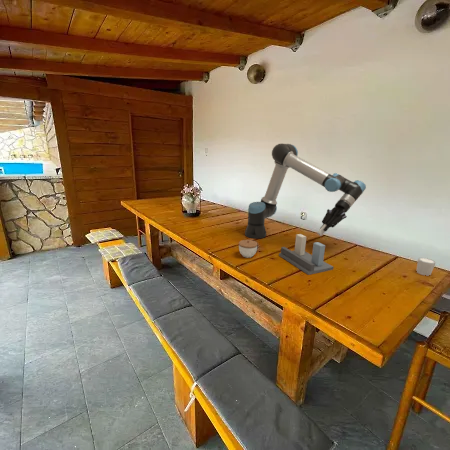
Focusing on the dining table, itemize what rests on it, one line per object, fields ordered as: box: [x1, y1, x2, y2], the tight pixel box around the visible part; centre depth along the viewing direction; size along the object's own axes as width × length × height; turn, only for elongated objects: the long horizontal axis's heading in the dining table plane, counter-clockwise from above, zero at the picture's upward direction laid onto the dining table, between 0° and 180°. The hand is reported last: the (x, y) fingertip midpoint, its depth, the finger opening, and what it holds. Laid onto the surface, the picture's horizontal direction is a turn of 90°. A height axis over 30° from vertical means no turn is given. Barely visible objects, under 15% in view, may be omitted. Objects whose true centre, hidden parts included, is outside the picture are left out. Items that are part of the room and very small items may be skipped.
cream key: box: [294, 233, 307, 256], centre depth 138 cm, size 5×3×11 cm, turn 22°
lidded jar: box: [238, 239, 258, 259], centre depth 139 cm, size 11×11×9 cm
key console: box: [278, 246, 334, 275], centre depth 132 cm, size 25×16×5 cm, turn 22°
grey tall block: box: [311, 241, 326, 266], centre depth 126 cm, size 5×3×11 cm, turn 22°
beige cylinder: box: [416, 257, 437, 277], centre depth 122 cm, size 7×7×7 cm
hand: (319, 234), depth 140 cm, fingers closed
